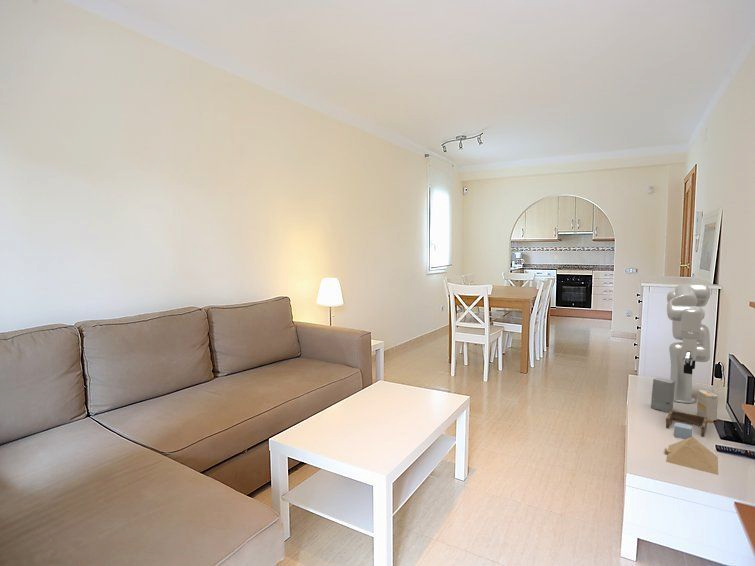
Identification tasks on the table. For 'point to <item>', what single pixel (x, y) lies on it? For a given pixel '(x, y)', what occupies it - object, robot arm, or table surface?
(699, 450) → the model pyramid
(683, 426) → the grey block
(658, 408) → the skincare box
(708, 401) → the supplement box
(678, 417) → the walnut open-sided box
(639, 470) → the table surface
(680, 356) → the robot arm
